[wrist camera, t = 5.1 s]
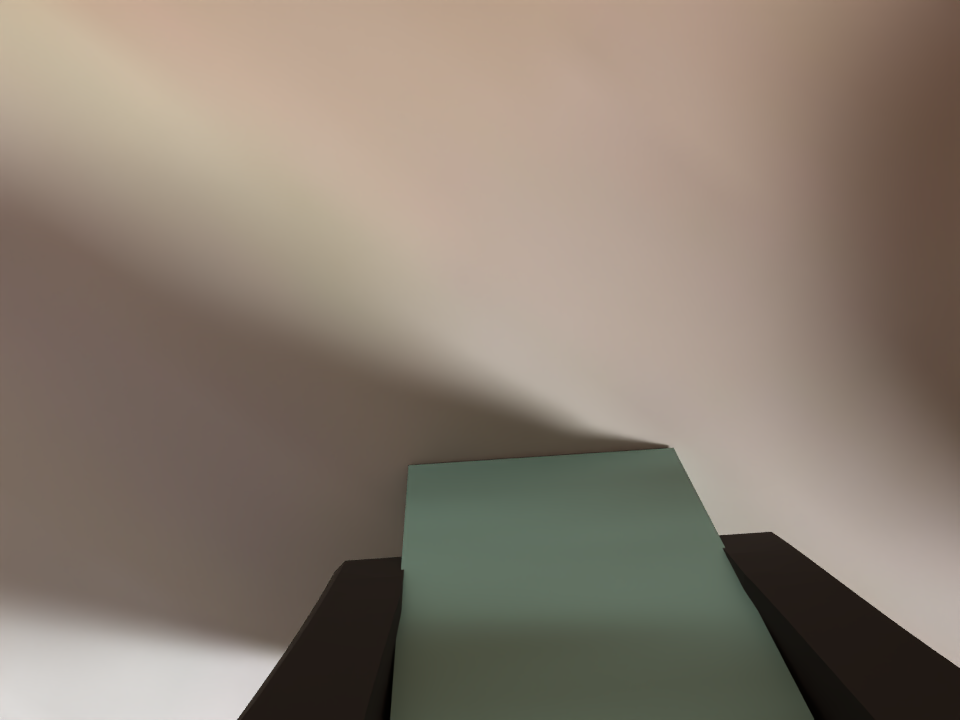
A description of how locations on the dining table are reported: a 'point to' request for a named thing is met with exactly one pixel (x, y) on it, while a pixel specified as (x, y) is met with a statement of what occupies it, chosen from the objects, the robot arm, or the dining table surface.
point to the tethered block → (576, 598)
